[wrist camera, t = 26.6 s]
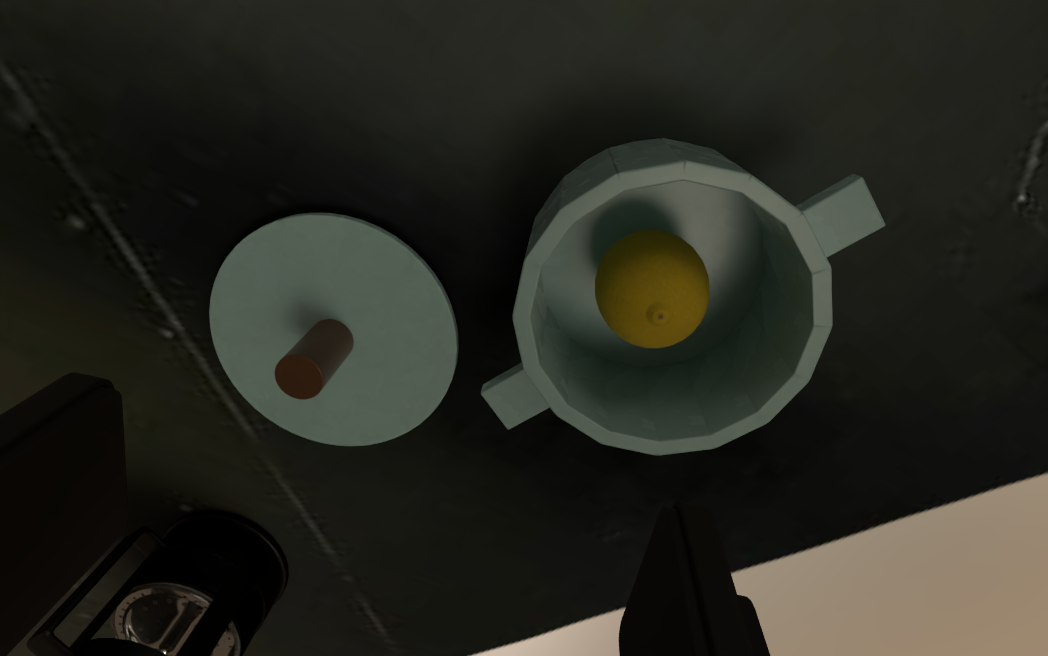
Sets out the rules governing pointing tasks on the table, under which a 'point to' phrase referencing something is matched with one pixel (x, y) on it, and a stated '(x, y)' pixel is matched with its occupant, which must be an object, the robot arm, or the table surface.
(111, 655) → the french press
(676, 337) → the lemon
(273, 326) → the lid
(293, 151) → the table surface
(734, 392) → the pot
